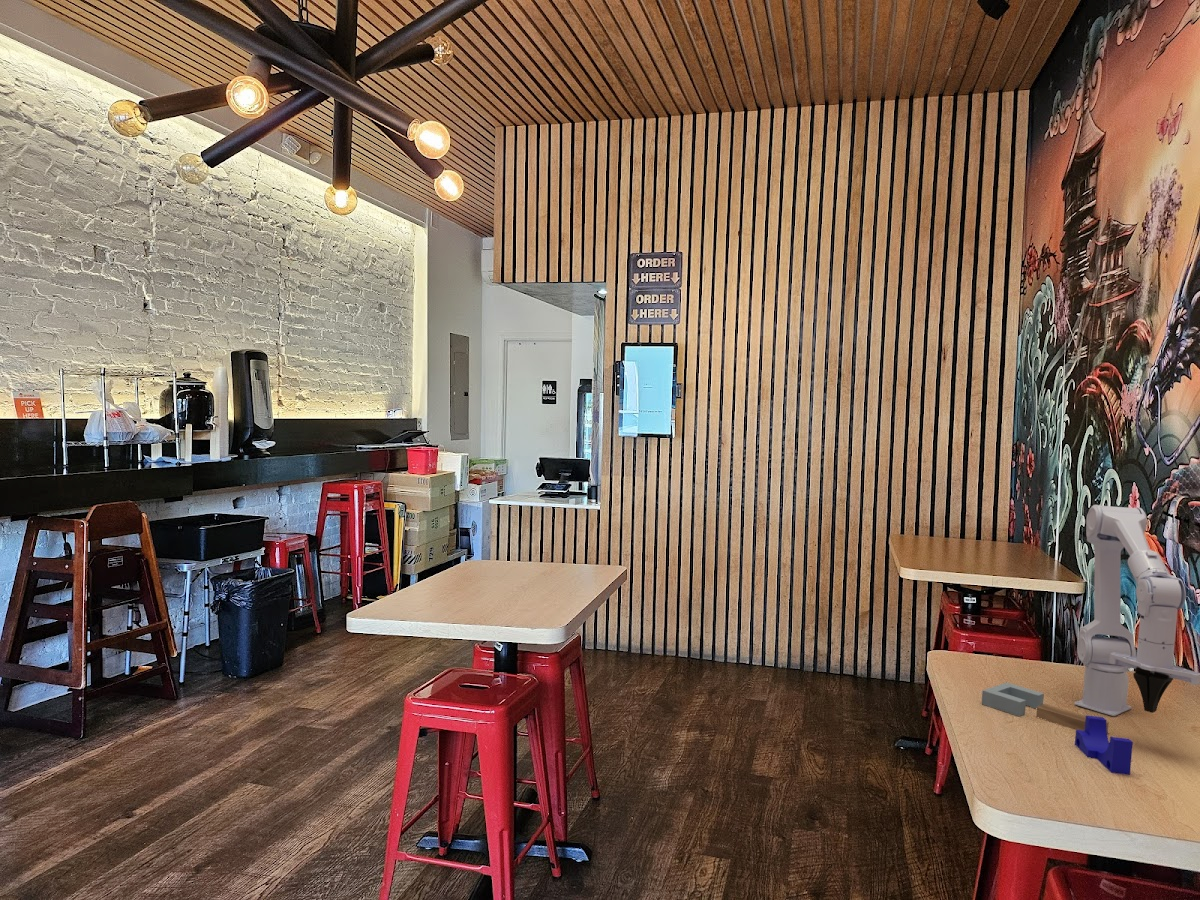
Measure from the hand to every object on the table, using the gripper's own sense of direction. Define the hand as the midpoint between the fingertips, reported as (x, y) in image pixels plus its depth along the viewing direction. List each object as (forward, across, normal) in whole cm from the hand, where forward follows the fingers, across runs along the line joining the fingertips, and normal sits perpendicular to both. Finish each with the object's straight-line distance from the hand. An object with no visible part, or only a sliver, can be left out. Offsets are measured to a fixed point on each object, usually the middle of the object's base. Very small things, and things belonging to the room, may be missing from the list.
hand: (1150, 710), depth 154 cm
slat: (+8, -14, 0) cm, 16 cm away
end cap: (+7, -26, 0) cm, 27 cm away
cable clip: (+8, -3, -13) cm, 16 cm away
